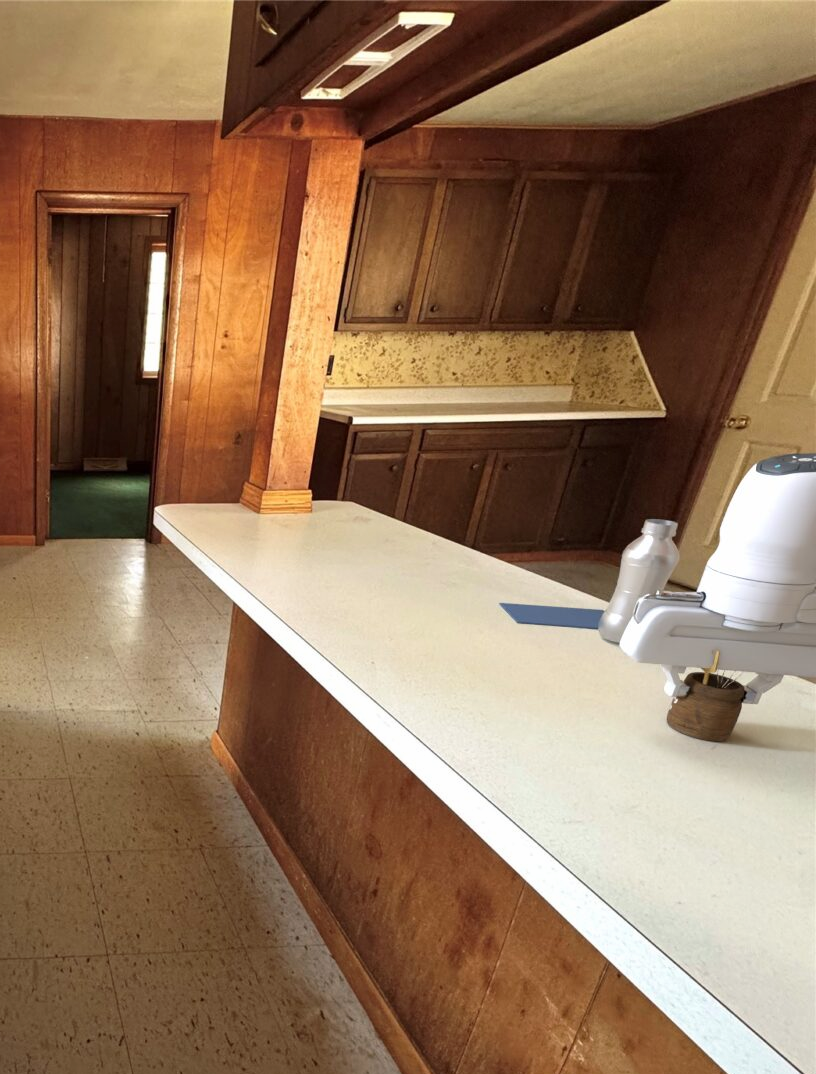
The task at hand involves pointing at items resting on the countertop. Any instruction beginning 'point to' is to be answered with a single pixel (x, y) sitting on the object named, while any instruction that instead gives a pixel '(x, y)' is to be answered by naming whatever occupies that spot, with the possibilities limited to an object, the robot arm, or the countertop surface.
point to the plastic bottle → (640, 574)
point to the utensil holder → (707, 705)
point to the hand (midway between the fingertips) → (709, 698)
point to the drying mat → (554, 615)
